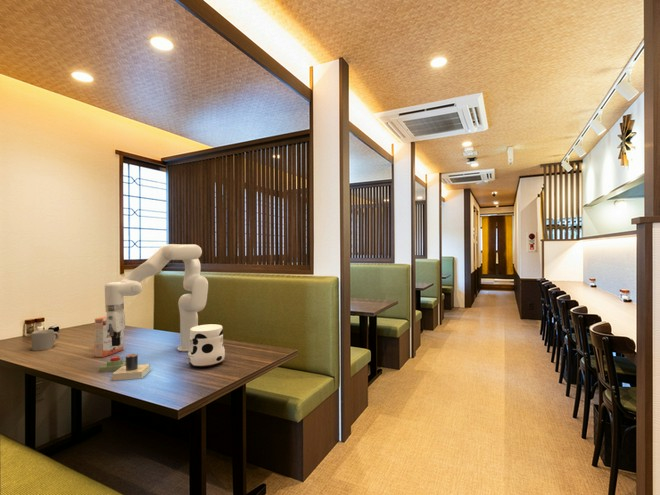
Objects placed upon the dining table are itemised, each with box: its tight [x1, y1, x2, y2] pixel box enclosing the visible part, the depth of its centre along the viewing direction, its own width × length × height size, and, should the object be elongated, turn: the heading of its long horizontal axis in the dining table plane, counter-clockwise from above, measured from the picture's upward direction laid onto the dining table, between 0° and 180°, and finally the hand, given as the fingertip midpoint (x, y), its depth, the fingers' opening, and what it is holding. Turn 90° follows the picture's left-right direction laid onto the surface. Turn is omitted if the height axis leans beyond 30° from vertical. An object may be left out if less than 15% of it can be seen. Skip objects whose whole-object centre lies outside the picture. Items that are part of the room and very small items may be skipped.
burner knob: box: [125, 353, 139, 371], centre depth 154 cm, size 5×5×6 cm
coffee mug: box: [31, 329, 60, 352], centre depth 202 cm, size 13×10×10 cm
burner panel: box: [111, 363, 151, 381], centre depth 154 cm, size 12×10×3 cm
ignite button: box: [110, 355, 120, 362], centre depth 163 cm, size 4×4×2 cm
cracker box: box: [94, 315, 124, 358], centre depth 188 cm, size 14×6×21 cm, turn 168°
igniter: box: [99, 357, 126, 373], centre depth 163 cm, size 10×8×4 cm
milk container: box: [187, 323, 226, 368], centre depth 168 cm, size 17×17×18 cm
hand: (116, 345), depth 164 cm, fingers closed
